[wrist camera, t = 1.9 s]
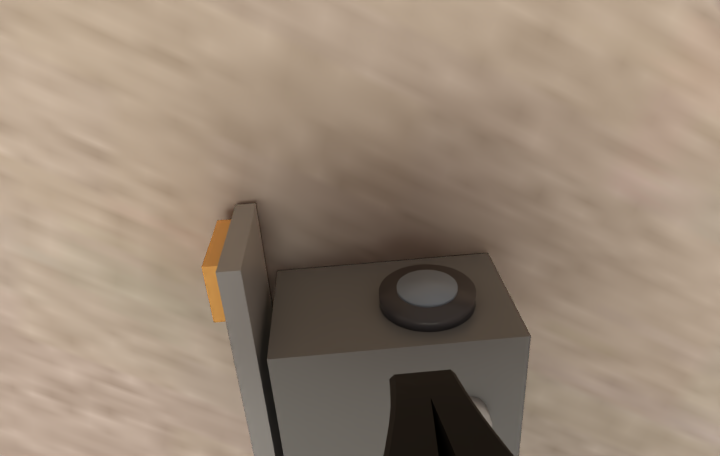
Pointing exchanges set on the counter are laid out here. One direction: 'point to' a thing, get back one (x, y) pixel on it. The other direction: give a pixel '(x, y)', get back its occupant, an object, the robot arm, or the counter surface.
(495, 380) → the camera body
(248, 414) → the side door
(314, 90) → the counter surface
